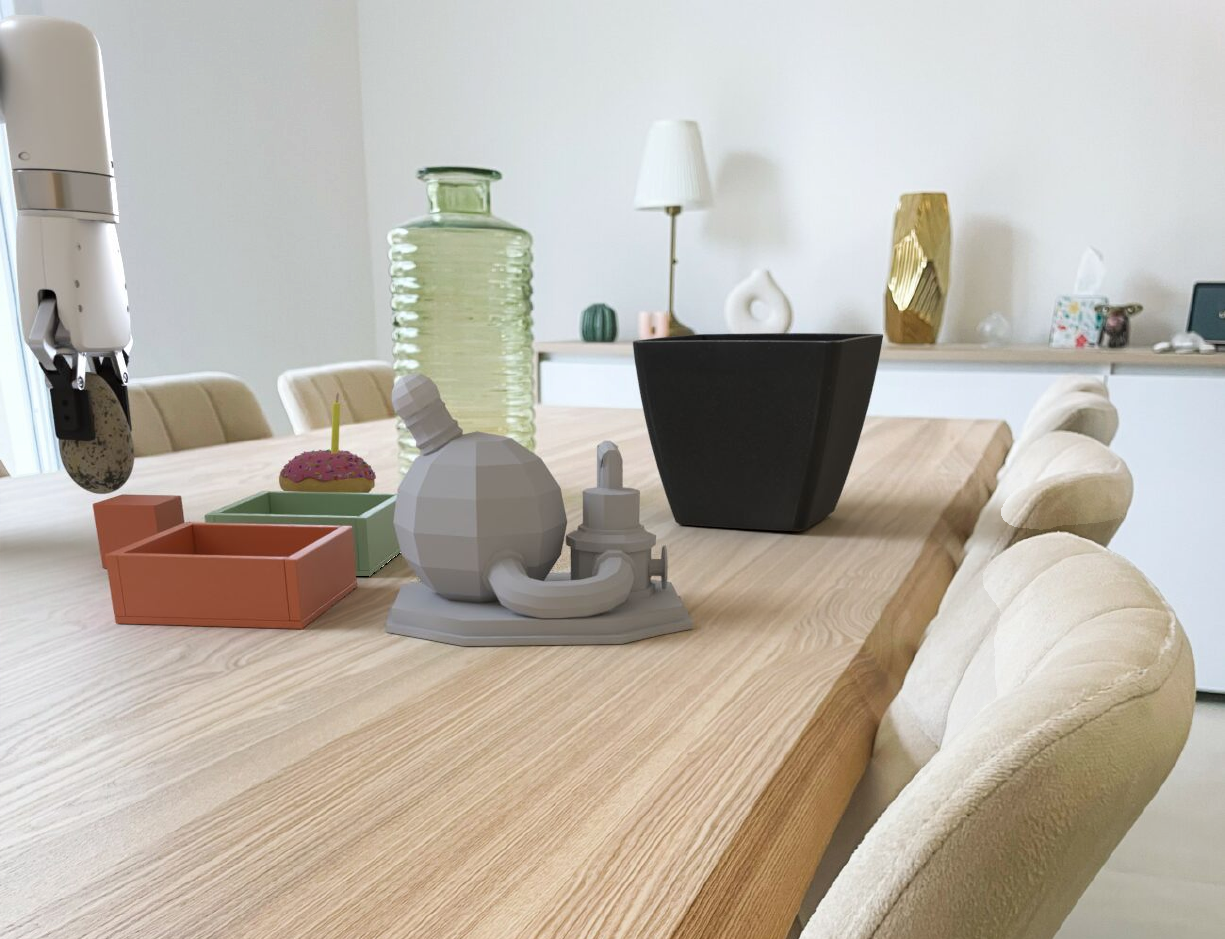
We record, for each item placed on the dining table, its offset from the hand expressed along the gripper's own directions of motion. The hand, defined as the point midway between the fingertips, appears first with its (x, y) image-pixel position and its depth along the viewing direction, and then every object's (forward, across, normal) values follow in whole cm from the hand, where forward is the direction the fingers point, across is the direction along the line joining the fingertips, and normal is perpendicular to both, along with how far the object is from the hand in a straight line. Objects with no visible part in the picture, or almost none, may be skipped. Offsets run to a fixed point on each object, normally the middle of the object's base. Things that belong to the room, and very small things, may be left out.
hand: (95, 434), depth 105 cm
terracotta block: (+9, +10, +8) cm, 15 cm away
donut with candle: (+8, -7, +18) cm, 21 cm away
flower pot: (+7, -17, +57) cm, 60 cm away
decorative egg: (+5, 0, 0) cm, 5 cm away
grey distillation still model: (+8, +24, +42) cm, 49 cm away
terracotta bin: (+9, +23, +21) cm, 32 cm away
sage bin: (+8, +7, +21) cm, 24 cm away
